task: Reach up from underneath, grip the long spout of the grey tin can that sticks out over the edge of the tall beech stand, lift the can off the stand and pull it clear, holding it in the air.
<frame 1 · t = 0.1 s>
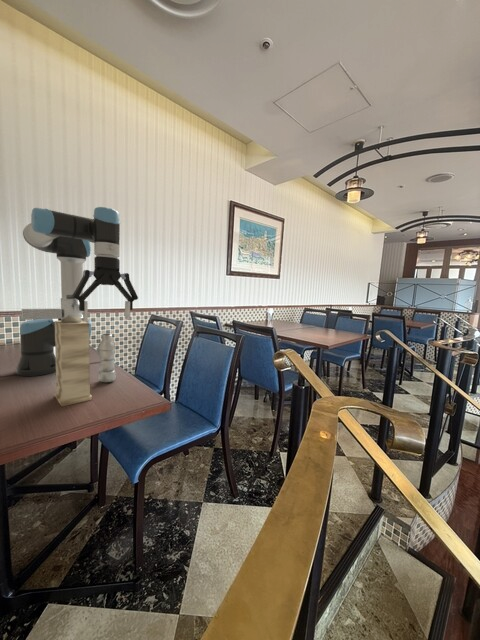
hand: (107, 320, 90), 28 cm above the table, tool pointing down, fingers open, 13 cm apart
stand: (73, 397, 93), on the table
plastic bottle: (107, 382, 110), on the table
spout can: (71, 321, 90), point 27 cm above the table, touching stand
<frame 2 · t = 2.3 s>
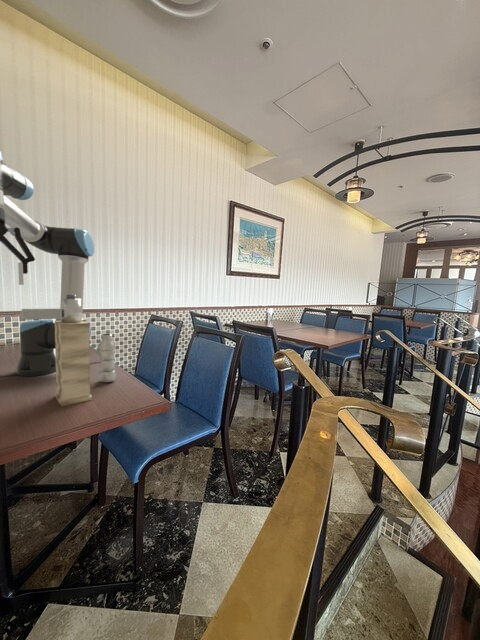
nothing on the table moved.
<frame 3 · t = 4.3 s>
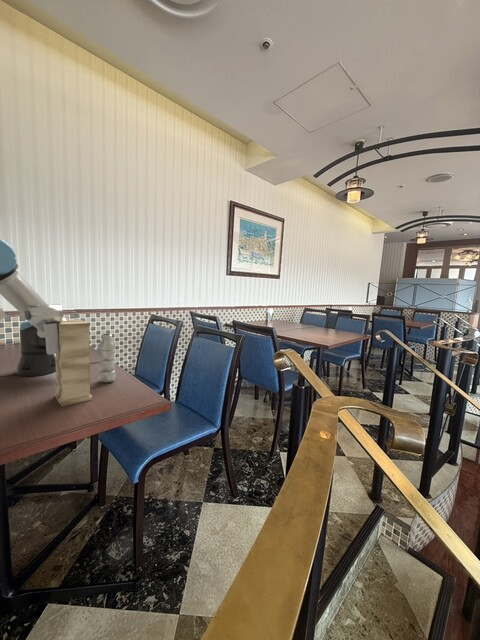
hand: (1, 312, 78), 30 cm above the table, tool pointing upward, fingers open, 13 cm apart
spout can: (60, 313, 87), point 30 cm above the table, tilted 93°, touching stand
everything else where it was.
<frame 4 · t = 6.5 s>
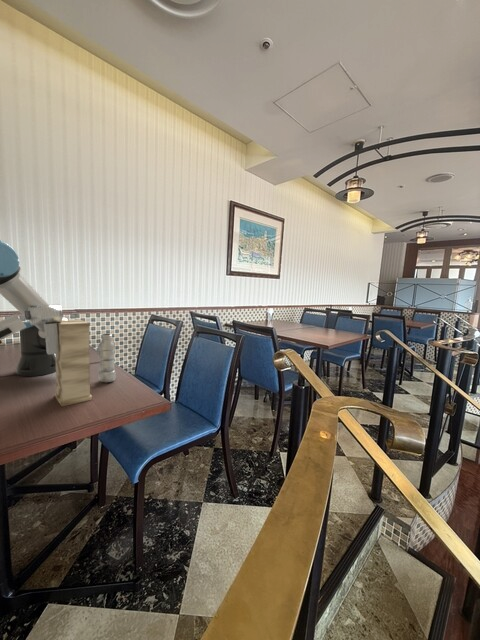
hand: (21, 320, 80), 28 cm above the table, tool pointing upward, fingers open, 13 cm apart
nothing on the table moved.
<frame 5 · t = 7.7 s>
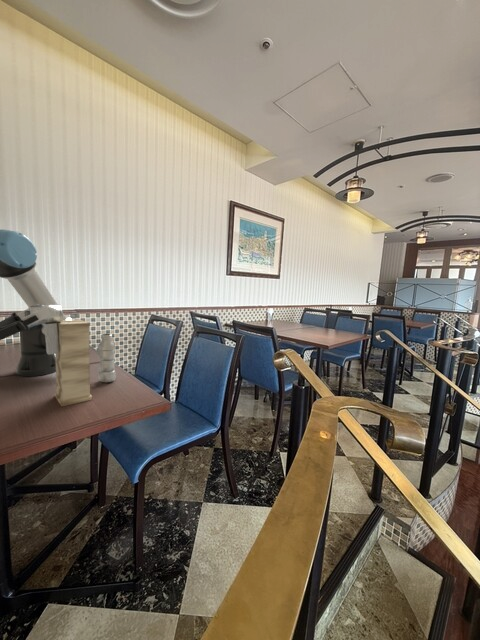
hand: (44, 309, 84), 32 cm above the table, tool pointing upward, fingers open, 13 cm apart
nothing on the table moved.
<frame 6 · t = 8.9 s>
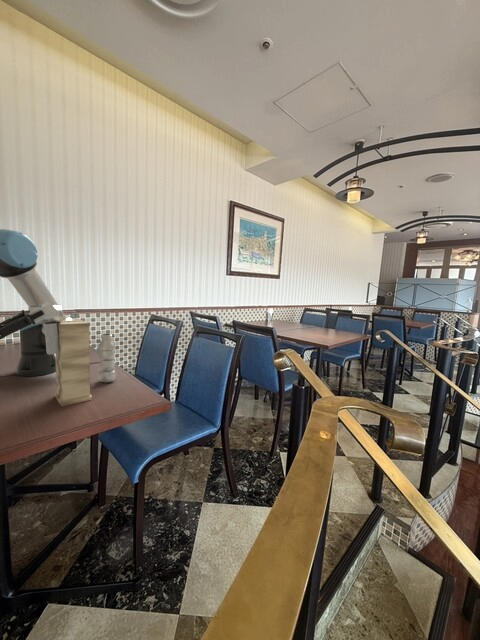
hand: (51, 305, 85), 33 cm above the table, tool pointing upward, fingers closed on spout can, 6 cm apart
spout can: (60, 313, 87), point 30 cm above the table, tilted 93°, touching gripper, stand
everything else where it was.
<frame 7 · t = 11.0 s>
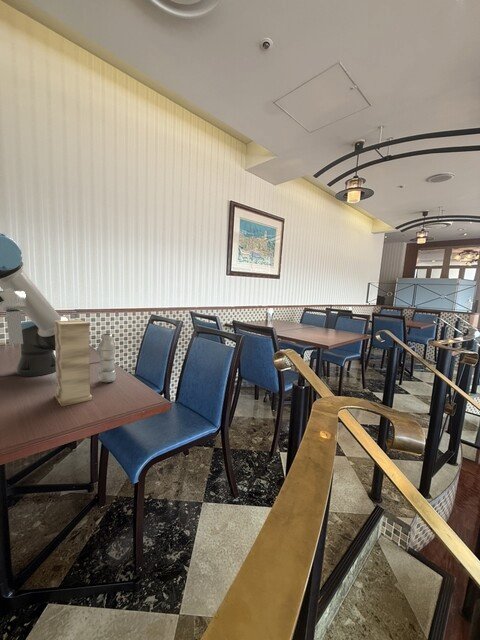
hand: (13, 292, 78), 37 cm above the table, tool pointing upward, fingers closed on spout can, 6 cm apart
spout can: (24, 300, 80), point 34 cm above the table, tilted 93°, touching gripper
everything else where it was.
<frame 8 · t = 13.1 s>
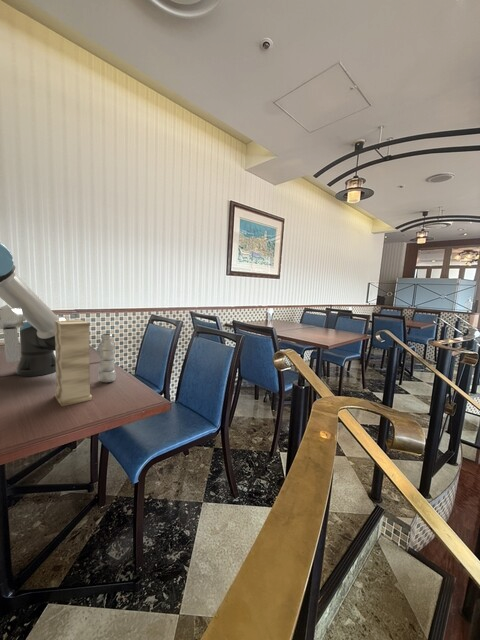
hand: (11, 309, 78), 31 cm above the table, tool pointing upward, fingers closed on spout can, 6 cm apart
spout can: (21, 317, 80), point 29 cm above the table, tilted 93°, touching gripper
everything else where it was.
at the end: the gripper is holding spout can; spout can moved 13.3 cm from its start; spout can touching gripper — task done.
